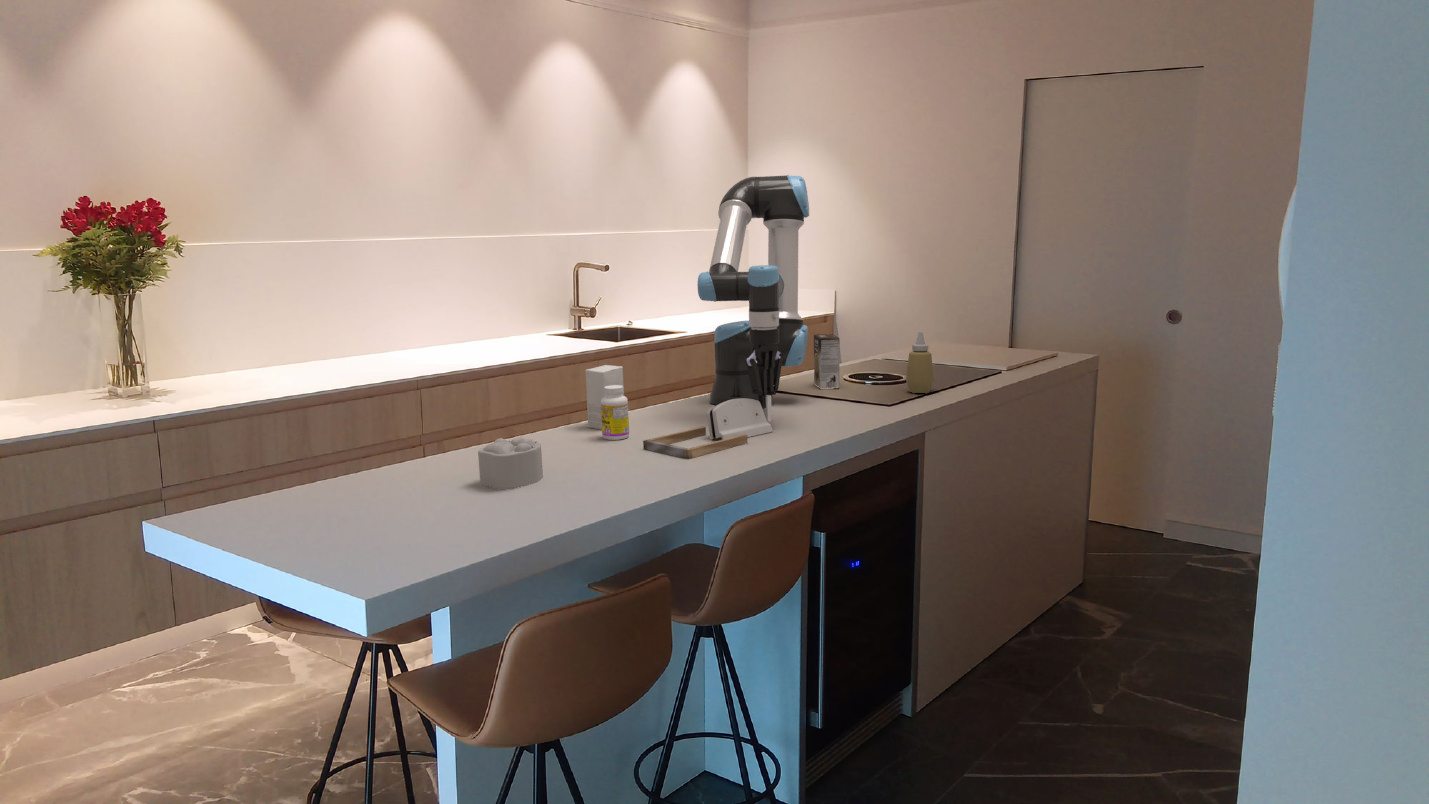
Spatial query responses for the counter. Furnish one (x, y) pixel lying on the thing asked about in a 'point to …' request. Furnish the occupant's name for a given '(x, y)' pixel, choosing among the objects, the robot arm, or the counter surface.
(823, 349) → the coffee box
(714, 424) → the grey piece
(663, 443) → the frame
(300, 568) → the counter surface
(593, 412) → the skincare box
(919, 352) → the squeeze bottle
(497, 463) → the lumpy-topped squat cylinder
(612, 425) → the supplement bottle
